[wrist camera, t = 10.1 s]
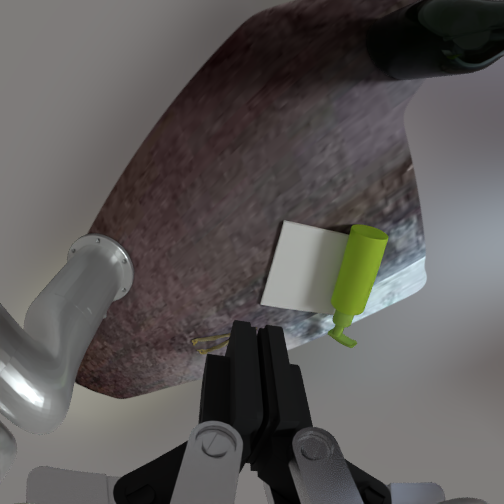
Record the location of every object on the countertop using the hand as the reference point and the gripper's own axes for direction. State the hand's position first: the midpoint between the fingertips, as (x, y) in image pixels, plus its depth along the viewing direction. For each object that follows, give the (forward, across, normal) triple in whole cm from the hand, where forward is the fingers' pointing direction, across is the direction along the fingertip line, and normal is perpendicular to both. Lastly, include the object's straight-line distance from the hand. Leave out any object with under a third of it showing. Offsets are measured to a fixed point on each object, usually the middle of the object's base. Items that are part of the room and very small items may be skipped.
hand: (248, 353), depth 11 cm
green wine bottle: (+35, -18, -25) cm, 47 cm away
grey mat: (+35, -15, +14) cm, 40 cm away
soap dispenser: (+31, -21, +4) cm, 38 cm away
